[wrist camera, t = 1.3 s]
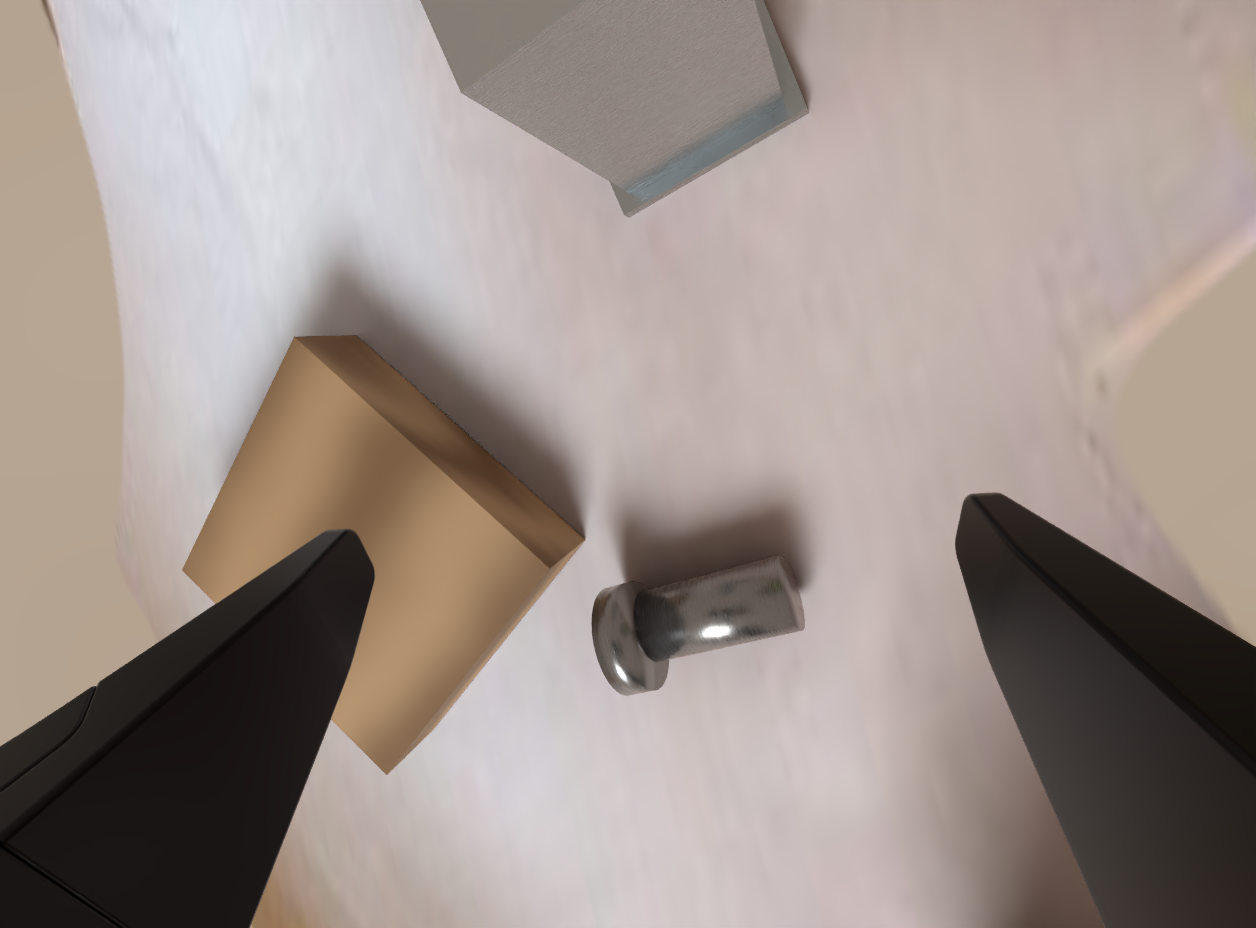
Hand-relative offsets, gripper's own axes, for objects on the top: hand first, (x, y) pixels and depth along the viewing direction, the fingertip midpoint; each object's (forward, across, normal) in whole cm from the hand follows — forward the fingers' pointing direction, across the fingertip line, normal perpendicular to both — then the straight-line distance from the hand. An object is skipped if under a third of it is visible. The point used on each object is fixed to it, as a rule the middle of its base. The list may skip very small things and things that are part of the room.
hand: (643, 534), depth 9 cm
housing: (+15, -1, -4) cm, 16 cm away
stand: (+12, +12, +10) cm, 20 cm away
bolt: (+8, -1, +10) cm, 14 cm away
